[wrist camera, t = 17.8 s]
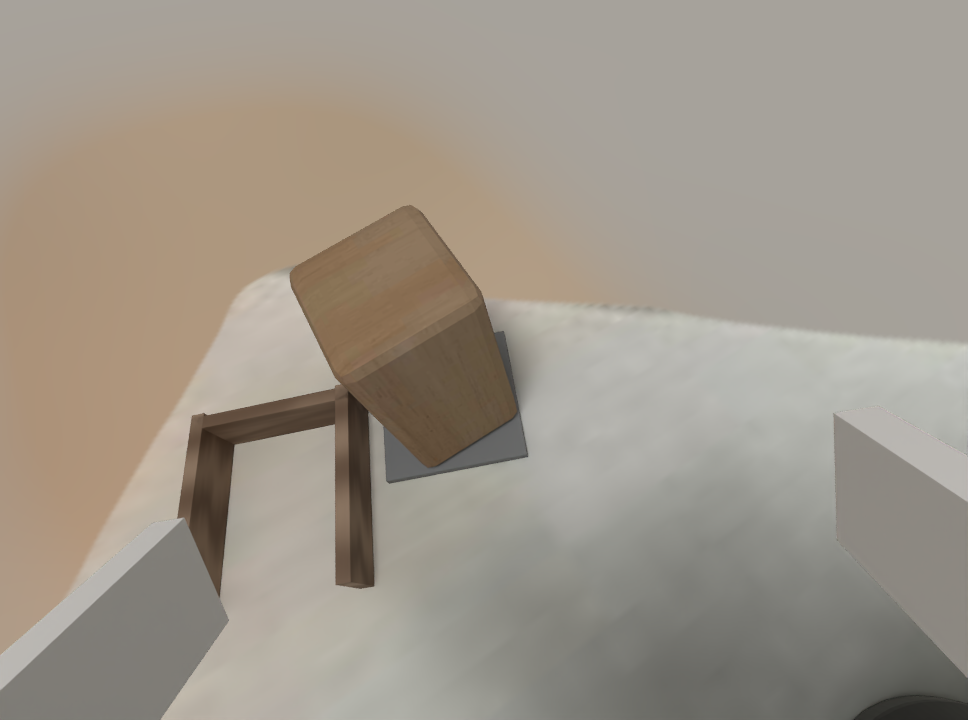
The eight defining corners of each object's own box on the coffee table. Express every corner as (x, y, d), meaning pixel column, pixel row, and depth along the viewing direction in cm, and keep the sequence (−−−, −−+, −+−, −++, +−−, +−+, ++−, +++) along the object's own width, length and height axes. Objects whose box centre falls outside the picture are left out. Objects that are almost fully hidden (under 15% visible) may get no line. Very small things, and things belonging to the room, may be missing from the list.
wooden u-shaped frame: (374, 586, 43) (350, 582, 39) (204, 615, 44) (163, 615, 40) (367, 403, 51) (347, 383, 47) (224, 433, 52) (192, 415, 48)
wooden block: (384, 391, 51) (278, 268, 33) (469, 339, 52) (411, 193, 34) (429, 475, 46) (333, 383, 28) (522, 416, 47) (486, 293, 29)
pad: (527, 456, 46) (527, 454, 45) (389, 483, 47) (386, 481, 46) (504, 335, 52) (503, 331, 51) (382, 360, 53) (380, 357, 52)
